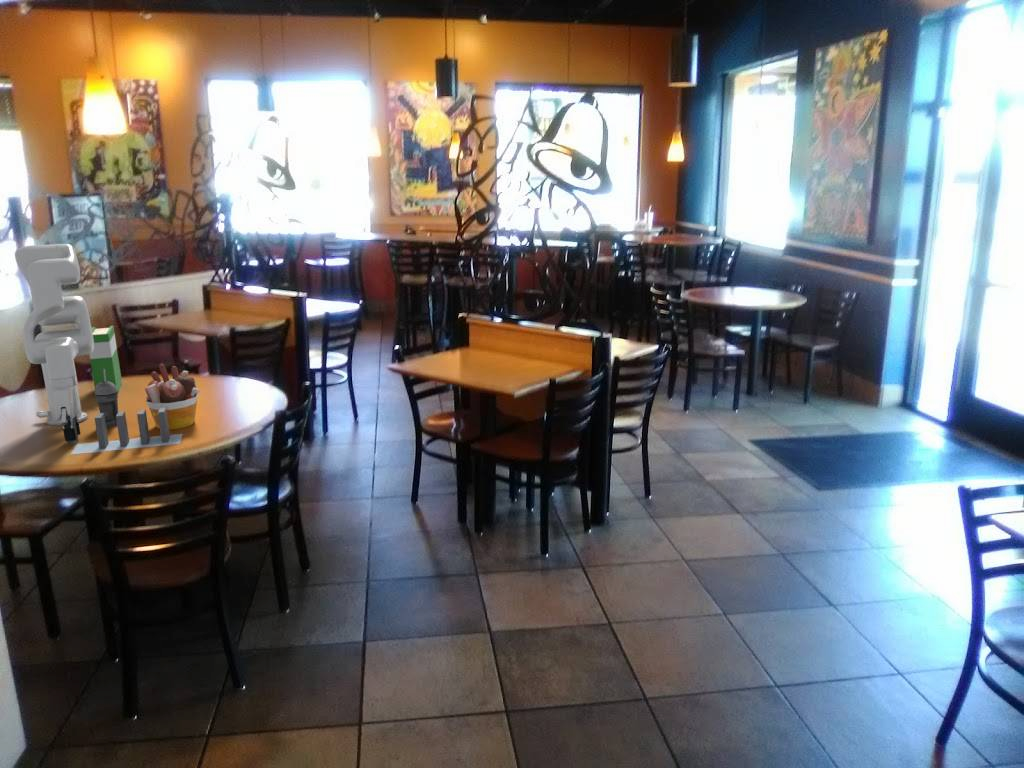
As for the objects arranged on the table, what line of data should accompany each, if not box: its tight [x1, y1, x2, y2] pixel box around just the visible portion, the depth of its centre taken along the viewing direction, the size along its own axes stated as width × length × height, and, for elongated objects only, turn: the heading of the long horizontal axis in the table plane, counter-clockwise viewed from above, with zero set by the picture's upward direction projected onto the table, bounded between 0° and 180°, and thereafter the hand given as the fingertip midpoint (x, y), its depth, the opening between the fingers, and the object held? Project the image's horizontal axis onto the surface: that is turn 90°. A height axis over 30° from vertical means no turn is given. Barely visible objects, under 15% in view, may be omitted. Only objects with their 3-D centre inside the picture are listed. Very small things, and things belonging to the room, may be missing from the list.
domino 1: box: [67, 417, 79, 446], centre depth 257 cm, size 2×5×10 cm, turn 16°
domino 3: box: [116, 410, 130, 447], centre depth 254 cm, size 2×5×10 cm, turn 16°
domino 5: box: [158, 407, 171, 443], centre depth 257 cm, size 2×5×10 cm, turn 16°
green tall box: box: [88, 325, 123, 394], centre depth 317 cm, size 18×7×24 cm, turn 20°
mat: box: [70, 433, 184, 456], centre depth 256 cm, size 31×10×1 cm, turn 106°
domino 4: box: [136, 408, 151, 445], centre depth 256 cm, size 2×5×10 cm, turn 16°
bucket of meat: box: [144, 363, 201, 431], centre depth 272 cm, size 20×16×20 cm
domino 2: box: [94, 412, 109, 449], centre depth 253 cm, size 2×5×10 cm, turn 16°
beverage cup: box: [94, 369, 119, 429], centre depth 273 cm, size 7×7×20 cm
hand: (72, 437), depth 257 cm, fingers closed on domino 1, 4 cm apart
